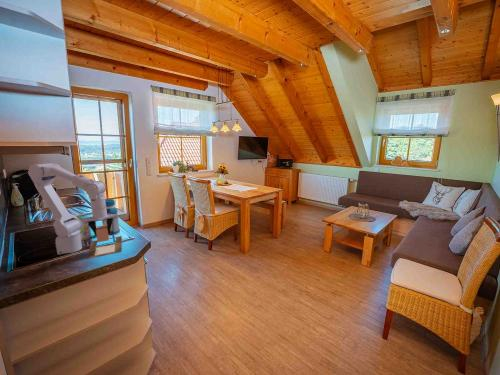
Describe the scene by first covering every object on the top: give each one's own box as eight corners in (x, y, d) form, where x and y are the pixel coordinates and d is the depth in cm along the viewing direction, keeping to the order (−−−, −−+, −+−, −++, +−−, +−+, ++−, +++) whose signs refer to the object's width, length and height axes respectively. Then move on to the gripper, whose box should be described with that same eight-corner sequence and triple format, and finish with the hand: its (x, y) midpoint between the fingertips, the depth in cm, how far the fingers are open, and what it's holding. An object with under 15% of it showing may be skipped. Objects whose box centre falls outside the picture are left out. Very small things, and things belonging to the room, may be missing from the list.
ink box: (79, 243, 126) (75, 219, 124) (73, 243, 127) (69, 219, 124) (91, 238, 133) (87, 215, 130) (85, 237, 134) (81, 214, 131)
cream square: (94, 256, 109) (94, 255, 109) (96, 248, 117) (96, 247, 117) (114, 252, 113) (114, 251, 113) (114, 244, 121) (114, 244, 121)
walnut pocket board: (86, 261, 107) (86, 259, 107) (92, 243, 126) (91, 241, 126) (121, 254, 113) (121, 251, 113) (121, 238, 132) (121, 235, 132)
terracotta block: (97, 242, 111) (95, 230, 110) (98, 238, 116) (96, 226, 115) (108, 240, 113) (107, 228, 112) (109, 236, 118) (107, 224, 117)
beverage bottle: (121, 234, 138) (117, 200, 134) (104, 237, 133) (99, 203, 129) (119, 229, 145) (114, 197, 141) (102, 233, 140) (98, 200, 136)
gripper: (78, 212, 104) (83, 241, 107) (116, 207, 111) (120, 234, 113) (81, 208, 110) (85, 235, 113) (116, 203, 117) (120, 230, 120)
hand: (103, 235), depth 114 cm, fingers closed on terracotta block, 4 cm apart
